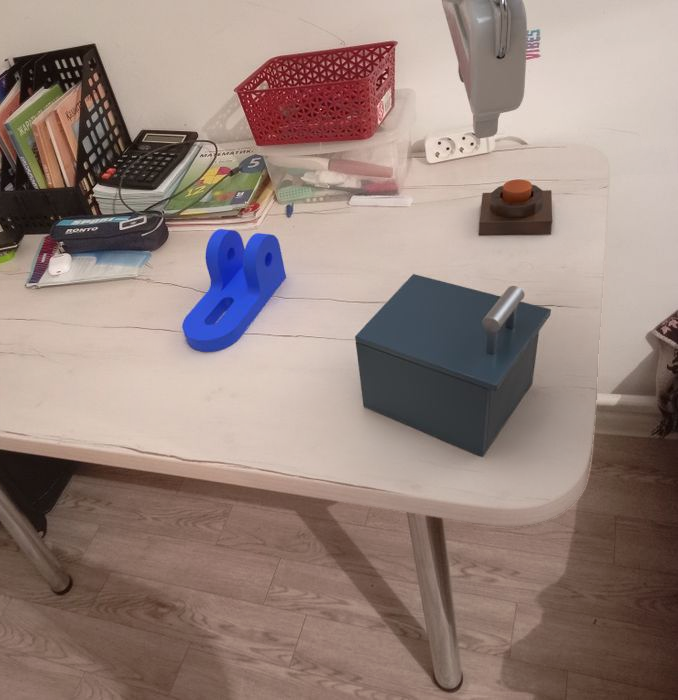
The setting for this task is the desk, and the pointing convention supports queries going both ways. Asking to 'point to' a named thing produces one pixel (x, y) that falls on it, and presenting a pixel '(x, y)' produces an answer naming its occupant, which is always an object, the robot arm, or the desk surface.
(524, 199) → the button
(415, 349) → the box lid
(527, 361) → the open box
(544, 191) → the control block
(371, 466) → the desk surface
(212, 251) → the bracket
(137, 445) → the desk surface
